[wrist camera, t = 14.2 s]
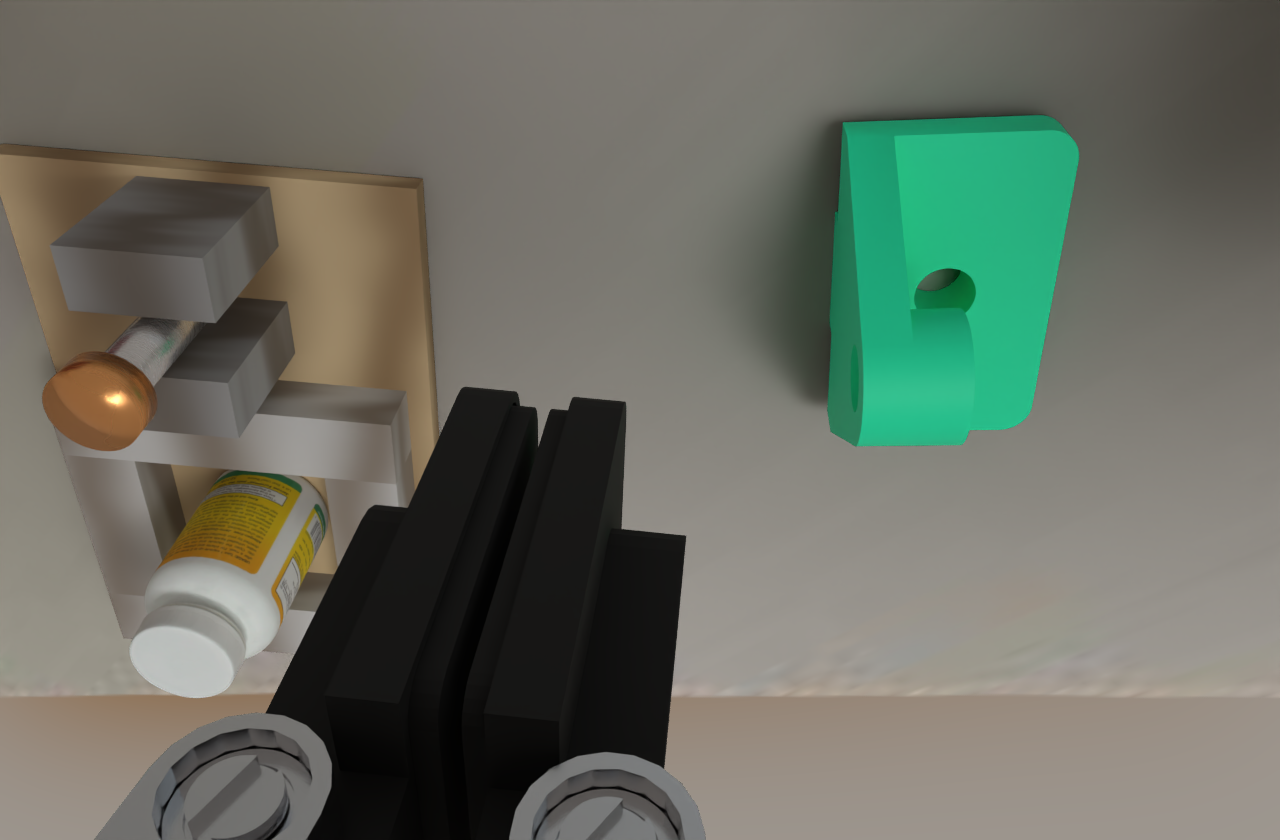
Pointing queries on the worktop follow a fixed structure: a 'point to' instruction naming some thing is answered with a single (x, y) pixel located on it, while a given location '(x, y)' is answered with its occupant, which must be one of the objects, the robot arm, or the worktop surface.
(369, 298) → the dock
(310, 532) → the supplement bottle
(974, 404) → the camera mount
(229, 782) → the robot arm
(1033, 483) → the worktop surface
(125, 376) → the pin
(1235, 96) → the worktop surface
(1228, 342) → the worktop surface
